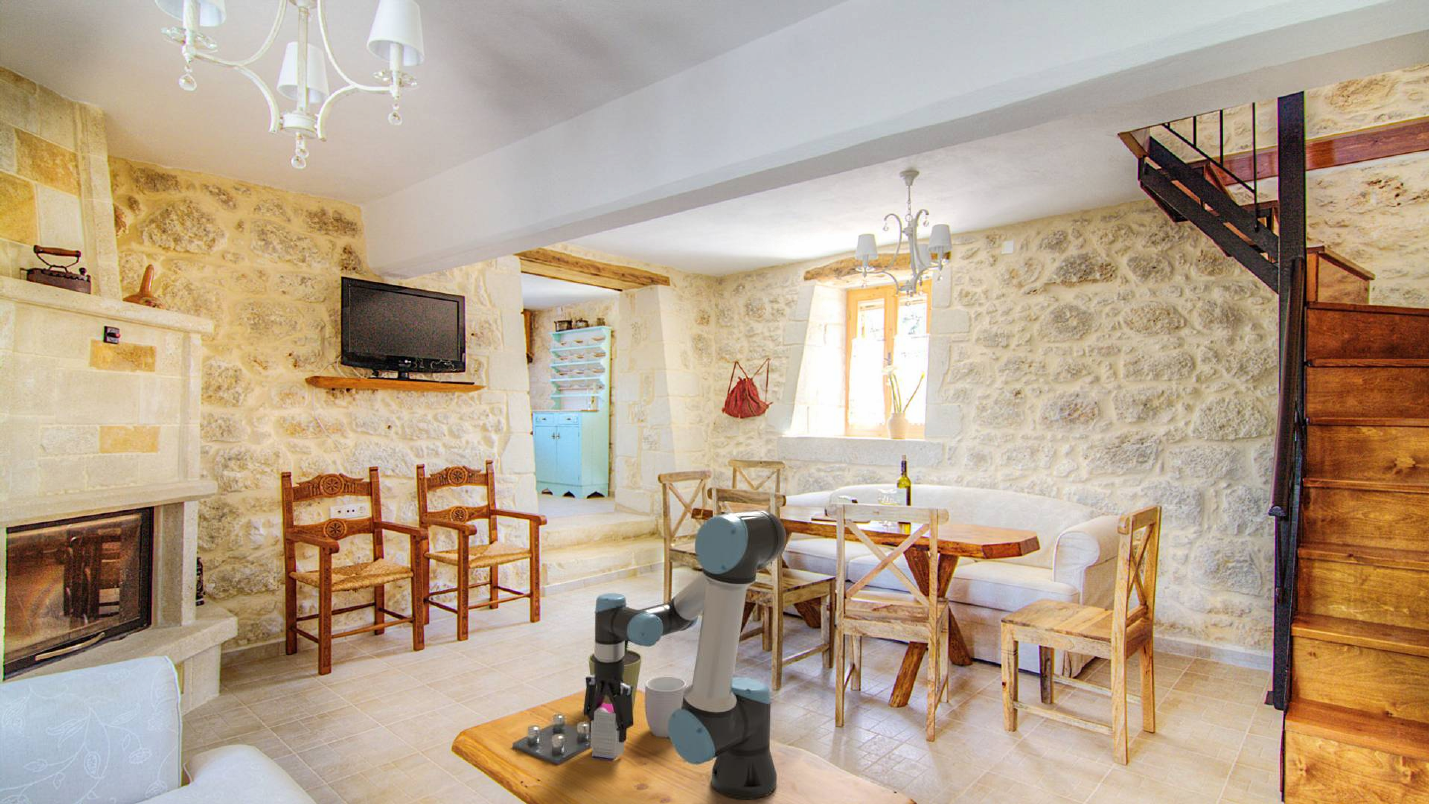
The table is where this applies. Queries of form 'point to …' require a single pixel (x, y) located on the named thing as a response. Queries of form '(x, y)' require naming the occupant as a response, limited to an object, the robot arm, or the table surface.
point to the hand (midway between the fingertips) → (607, 749)
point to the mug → (662, 702)
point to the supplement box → (604, 732)
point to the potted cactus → (630, 671)
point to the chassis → (556, 740)
